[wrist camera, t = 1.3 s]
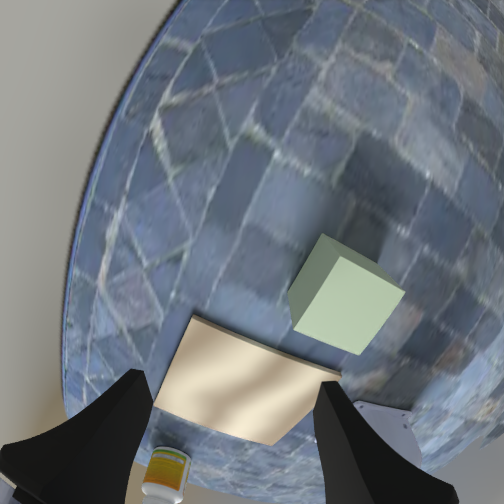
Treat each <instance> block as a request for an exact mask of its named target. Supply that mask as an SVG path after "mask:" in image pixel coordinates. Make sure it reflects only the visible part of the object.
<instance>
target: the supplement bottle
mask: <svg viewBox="0 0 504 504" xmlns="http://www.w3.org/2000/svg"><path fill="white" fill-rule="evenodd" d="M190 465H191V459H190V457H189V456H188V455H187V454H185V453H183V452H182V451H179V450H177V449H174V448H171V447H157V448H155V449H154V451H153V453H152V456H151V459H150V462H149V465H148V468H147V472H146V474H145V478H144V480H143V483H142V491H143V492H144V493H145V494H146V495H147V496H145V497H144V499H143V502H142V504H175V503H179V502H181V501H182V499H183V496H184V492H185V487H186V483H187V478H188V474H189V470H190Z"/></svg>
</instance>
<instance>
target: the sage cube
mask: <svg viewBox="0 0 504 504" xmlns="http://www.w3.org/2000/svg"><path fill="white" fill-rule="evenodd" d="M287 293H288V299H289V306H290V312H291V319H292V325H293V330H295V331H298V332H300V333H302V334H305V335H307V336H310V337H312V338H315V339H317V340H320V341H322V342H325V343H327V344H330V345H333V346H335V347H338V348H340V349H343V350H346V351H348V352H351V353H354V354H356V355H360V354H361V353H362V351H363V350H364V349H365V348H366V346H367V345H368V344H369V343H370V341H371V340H372V339H373V337H374V336H375V335H376V333H377V332H378V331H379V329H380V328H381V327H382V325H383V324H384V323H385V321H386V320H387V318H388V317H389V316H390V314H391V313H392V311H393V310H394V309H395V307H396V306H397V304H398V303H399V301H400V300H401V298H402V297H403V295H404V294H405V291H404V290H403V289H402V288H401V287H400V286H399V285H398V284H397V283H396V282H395V281H394V280H393V279H392V278H391V277H390V276H389V275H388V274H387V273H386V272H385V271H384V270H383V269H382V268H381V267H380V266H379V265H378V264H377V263H375V262H373V261H372V260H370V259H368V258H366V257H365V256H363V255H361V254H359V253H358V252H356V251H354V250H352V249H350V248H349V247H347V246H345V245H343V244H341V243H340V242H338V241H336V240H334V239H332V238H330V237H329V236H327V235H325V234H323V233H322V234H321V236H320V237H319V239H318V241H317V243H316V244H315V246H314V248H313V250H312V251H311V253H310V255H309V257H308V258H307V260H306V262H305V264H304V265H303V267H302V269H301V270H300V272H299V274H298V275H297V277H296V279H295V281H294V282H293V284H292V286H291V287H290V289H289V290H288V292H287Z"/></svg>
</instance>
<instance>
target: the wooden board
mask: <svg viewBox="0 0 504 504" xmlns="http://www.w3.org/2000/svg"><path fill="white" fill-rule="evenodd" d="M341 378H342V375H341V373H340V372H337V371H334V370H331V369H328V368H325V367H322V366H320V365H317V364H314V363H311V362H308V361H305V360H303V359H300V358H297V357H294V356H292V355H289V354H286V353H284V352H281V351H279V350H276V349H273V348H271V347H268V346H266V345H263V344H261V343H258V342H256V341H254V340H251V339H249V338H246V337H244V336H242V335H239V334H237V333H234V332H232V331H230V330H228V329H225V328H223V327H221V326H218V325H216V324H214V323H212V322H210V321H207V320H205V319H203V318H201V317H199V316H197V315H194V314H193V316H192V318H191V321H190V323H189V325H188V327H187V329H186V332H185V334H184V336H183V338H182V341H181V343H180V345H179V347H178V350H177V352H176V354H175V356H174V359H173V361H172V363H171V366H170V368H169V370H168V372H167V375H166V377H165V379H164V382H163V384H162V386H161V389H160V391H159V393H158V396H157V398H156V401H155V403H154V405H153V406H156V407H158V408H160V409H162V410H165V411H167V412H169V413H172V414H174V415H176V416H179V417H181V418H184V419H186V420H189V421H192V422H194V423H197V424H200V425H202V426H205V427H208V428H211V429H214V430H217V431H220V432H223V433H226V434H229V435H233V436H236V437H239V438H243V439H246V440H250V441H254V442H258V443H262V444H266V445H270V446H272V445H273V444H275V443H276V442H277V441H278V440H279V439H280V438H282V437H283V436H284V435H285V434H286V433H287V432H288V431H289V430H290V429H292V428H293V427H294V426H295V425H296V424H297V423H298V422H299V421H300V420H301V419H302V418H303V417H304V416H305V415H306V414H307V413H308V412H309V411H310V410H311V409H312V408H313V407H314V406H315V403H316V400H317V396H318V392H319V389H320V385H321V381H337V382H338V381H339V380H340V379H341Z"/></svg>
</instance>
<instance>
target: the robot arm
mask: <svg viewBox="0 0 504 504" xmlns="http://www.w3.org/2000/svg"><path fill="white" fill-rule="evenodd" d="M152 405H153V399H152V396H151V393H150V390H149V387H148V384H147V380H146V377H145V374H144V371H142V370H136V369H130V370H129V371H127V372H126V373H125V374H124V375H123V376H122V377H121V378H120V379H119V380H118V381H116V382H115V383H114V384H113V385H112V386H111V387H110V388H109V389H108V390H106V391H105V392H104V393H103V394H102V395H101V396H100V397H98V398H97V399H96V400H95V401H94V402H92V403H91V404H90V405H89V406H87V407H86V408H85V409H83V410H82V411H81V412H79V413H78V414H77V415H75V416H74V417H72V418H71V419H69V420H67V421H66V422H64V423H62V424H61V425H59V426H57V427H55V428H53V429H51V430H49V431H47V432H45V433H42V434H40V435H37V436H35V437H32V438H29V439H26V440H23V441H19V442H15V443H10V444H6V445H3V447H2V448H1V450H0V472H1V473H2V474H3V475H5V476H6V477H7V478H8V479H9V480H10V481H12V482H13V483H14V484H15V485H17V487H16V489H14V488H13V487H11V486H10V485H9V484H7V483H6V482H5V481H4V480H2V479H1V478H0V504H125V496H126V490H127V485H128V480H129V476H130V471H131V467H132V464H133V461H134V458H135V455H136V453H137V450H138V448H139V445H140V442H141V440H142V437H143V435H144V432H145V430H146V427H147V424H148V422H149V418H150V414H151V410H152ZM411 415H412V413H411V411H406V410H400V409H395V408H390V407H385V406H380V405H376V404H371V403H367V402H363V401H356V402H355V403H352V402H351V401H350V399H349V398H348V396H347V395H346V394H345V392H344V391H343V389H342V388H341V386H340V385H339V383H338V382H337V381H321V385H320V389H319V392H318V396H317V400H316V403H315V406H314V410H313V418H314V430H315V436H316V438H315V439H314V440H315V442H316V443H317V446H318V451H319V455H320V460H321V465H322V470H323V475H324V482H325V495H326V504H459V499H458V497H457V493H456V491H455V489H454V487H453V486H452V485H451V484H448V483H446V482H444V481H442V480H439V479H437V478H435V477H433V476H431V475H429V474H428V473H426V472H424V471H422V470H421V469H420V468H421V464H422V454H421V450H420V448H419V446H418V443H417V441H416V438H415V436H414V434H413V431H412V429H411V427H410V424H409V422H408V420H407V419H408V418H409V417H410V416H411Z"/></svg>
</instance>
